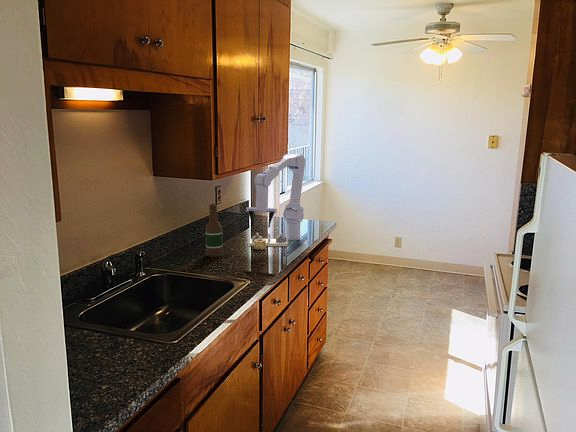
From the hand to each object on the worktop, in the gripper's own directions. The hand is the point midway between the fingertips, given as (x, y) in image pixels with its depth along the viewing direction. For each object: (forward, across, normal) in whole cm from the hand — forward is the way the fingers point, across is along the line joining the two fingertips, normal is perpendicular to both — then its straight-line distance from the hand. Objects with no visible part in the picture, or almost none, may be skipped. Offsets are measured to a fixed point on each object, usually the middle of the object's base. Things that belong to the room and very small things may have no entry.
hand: (261, 227), depth 233 cm
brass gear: (+11, 0, +1) cm, 11 cm away
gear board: (+10, +4, +9) cm, 14 cm away
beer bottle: (+12, -20, -11) cm, 26 cm away
